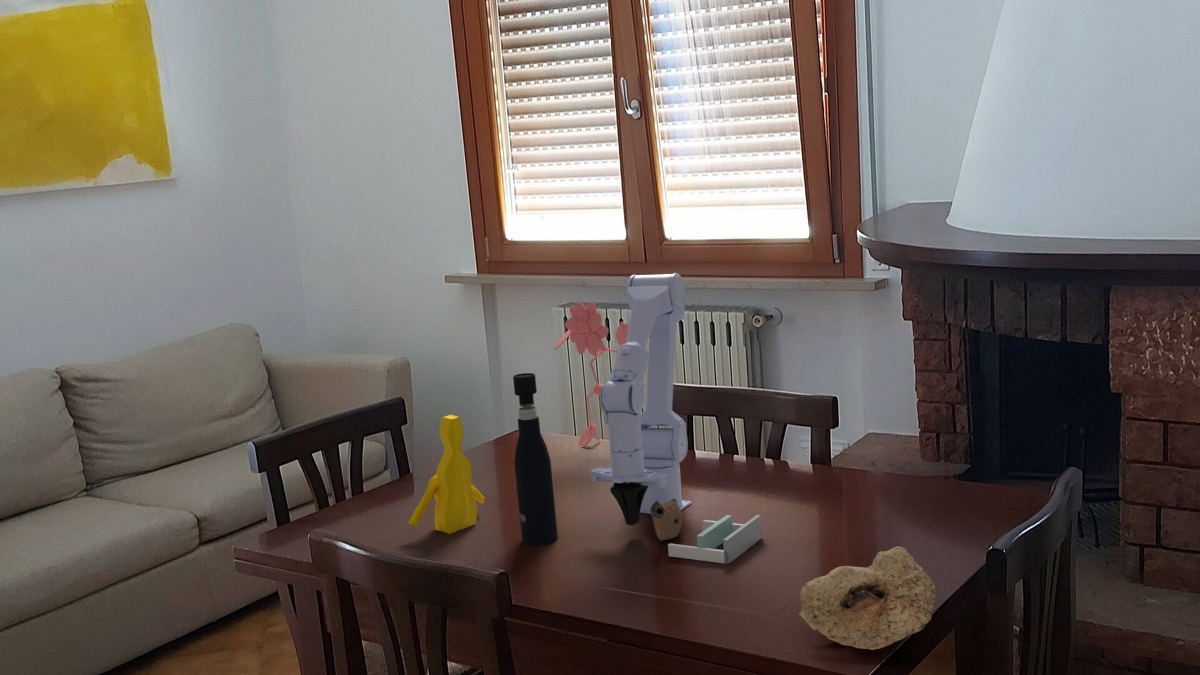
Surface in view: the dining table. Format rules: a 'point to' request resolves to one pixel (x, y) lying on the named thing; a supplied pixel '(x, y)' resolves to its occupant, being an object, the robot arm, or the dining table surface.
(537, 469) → the black water bottle
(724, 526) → the panel
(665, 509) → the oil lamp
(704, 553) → the pusher lane
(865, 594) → the tan rock
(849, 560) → the dining table surface
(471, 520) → the figure statuette
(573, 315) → the figurine
